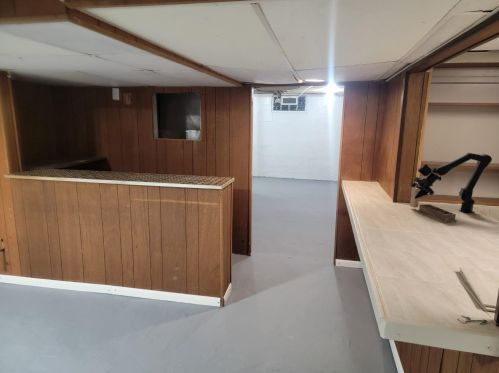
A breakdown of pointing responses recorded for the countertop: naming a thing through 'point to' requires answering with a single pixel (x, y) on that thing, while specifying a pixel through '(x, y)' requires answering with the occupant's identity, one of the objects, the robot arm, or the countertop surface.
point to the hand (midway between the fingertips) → (412, 197)
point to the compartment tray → (437, 213)
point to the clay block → (414, 201)
